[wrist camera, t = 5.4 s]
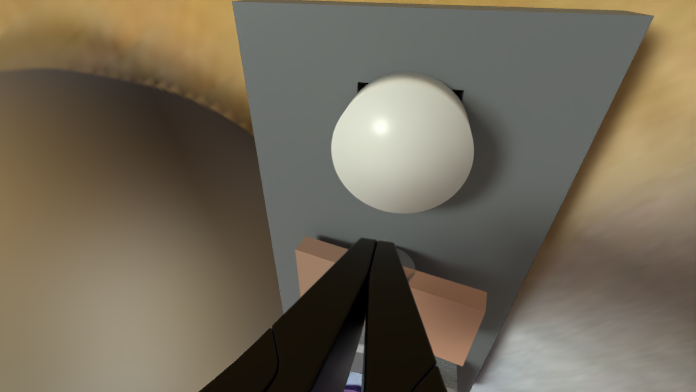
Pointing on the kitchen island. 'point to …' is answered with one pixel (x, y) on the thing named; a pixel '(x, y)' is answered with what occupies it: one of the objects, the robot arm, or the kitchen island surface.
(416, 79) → the button
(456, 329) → the rocker
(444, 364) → the small grey block
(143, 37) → the kitchen island surface
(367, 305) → the robot arm
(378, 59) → the panel
